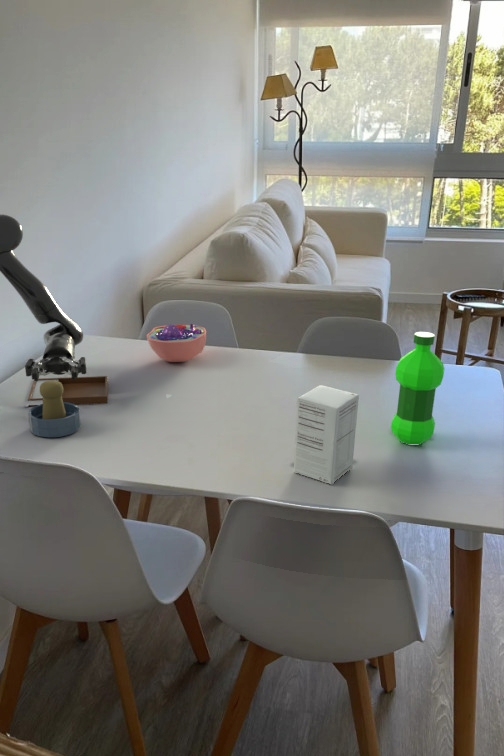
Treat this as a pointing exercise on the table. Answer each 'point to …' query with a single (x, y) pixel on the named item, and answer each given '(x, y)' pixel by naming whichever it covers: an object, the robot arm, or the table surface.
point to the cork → (52, 400)
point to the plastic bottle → (417, 391)
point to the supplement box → (325, 433)
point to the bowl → (54, 421)
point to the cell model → (177, 341)
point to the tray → (80, 390)
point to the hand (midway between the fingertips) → (54, 376)
